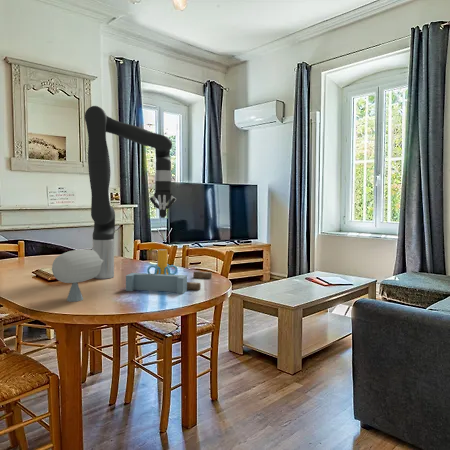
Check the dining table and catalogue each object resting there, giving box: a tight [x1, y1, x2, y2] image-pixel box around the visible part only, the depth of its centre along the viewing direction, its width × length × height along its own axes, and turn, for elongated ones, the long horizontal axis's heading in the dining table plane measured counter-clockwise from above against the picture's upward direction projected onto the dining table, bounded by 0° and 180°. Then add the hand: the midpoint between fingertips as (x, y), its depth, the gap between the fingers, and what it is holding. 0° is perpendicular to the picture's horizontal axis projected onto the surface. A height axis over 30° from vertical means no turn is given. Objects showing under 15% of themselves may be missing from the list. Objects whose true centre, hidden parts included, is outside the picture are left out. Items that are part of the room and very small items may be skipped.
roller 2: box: [192, 271, 213, 280], centre depth 185 cm, size 8×3×3 cm, turn 81°
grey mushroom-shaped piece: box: [51, 248, 103, 303], centre depth 143 cm, size 15×20×18 cm
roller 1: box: [187, 281, 202, 291], centre depth 161 cm, size 8×3×3 cm, turn 81°
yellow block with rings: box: [146, 248, 178, 275], centre depth 166 cm, size 12×10×15 cm
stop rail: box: [125, 272, 188, 295], centre depth 158 cm, size 23×6×6 cm, turn 81°
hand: (163, 217), depth 189 cm, fingers closed
